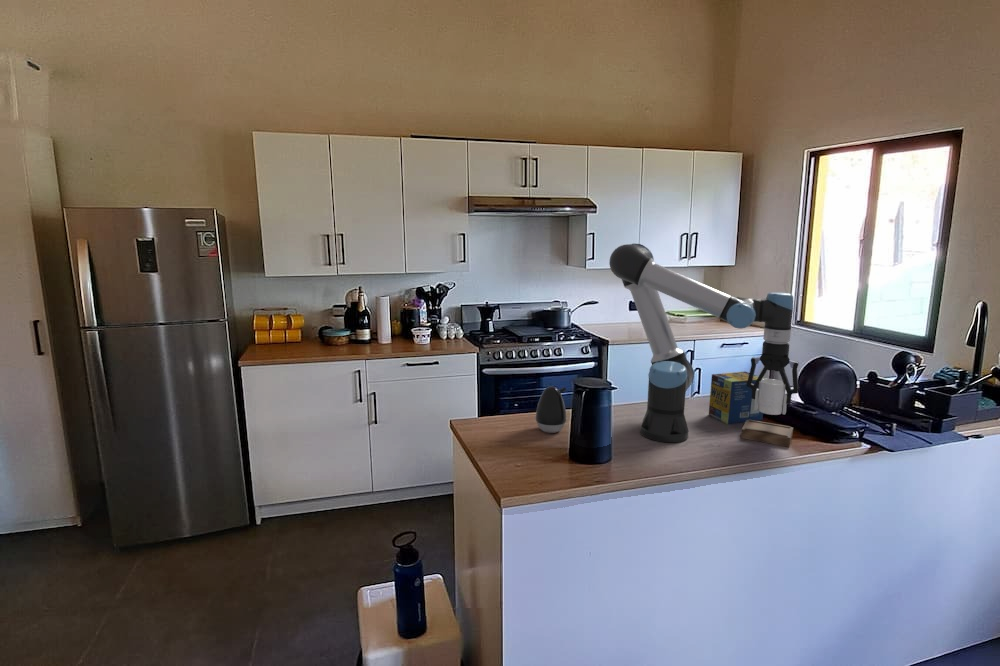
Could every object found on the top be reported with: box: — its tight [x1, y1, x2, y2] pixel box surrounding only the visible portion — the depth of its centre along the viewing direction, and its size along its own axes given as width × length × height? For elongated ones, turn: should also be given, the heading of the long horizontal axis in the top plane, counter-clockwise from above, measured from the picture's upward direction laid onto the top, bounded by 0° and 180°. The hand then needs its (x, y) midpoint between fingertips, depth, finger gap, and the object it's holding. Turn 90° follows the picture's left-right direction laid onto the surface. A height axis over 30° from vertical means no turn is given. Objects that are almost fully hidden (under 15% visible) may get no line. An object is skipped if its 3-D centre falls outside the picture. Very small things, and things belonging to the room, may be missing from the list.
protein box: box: [708, 371, 766, 425], centre depth 196 cm, size 10×15×16 cm
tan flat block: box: [740, 420, 794, 448], centre depth 178 cm, size 14×11×3 cm
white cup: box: [758, 378, 786, 416], centre depth 176 cm, size 8×8×10 cm
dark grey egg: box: [535, 385, 567, 434], centre depth 182 cm, size 10×10×15 cm
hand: (769, 410), depth 177 cm, fingers closed on white cup, 7 cm apart
